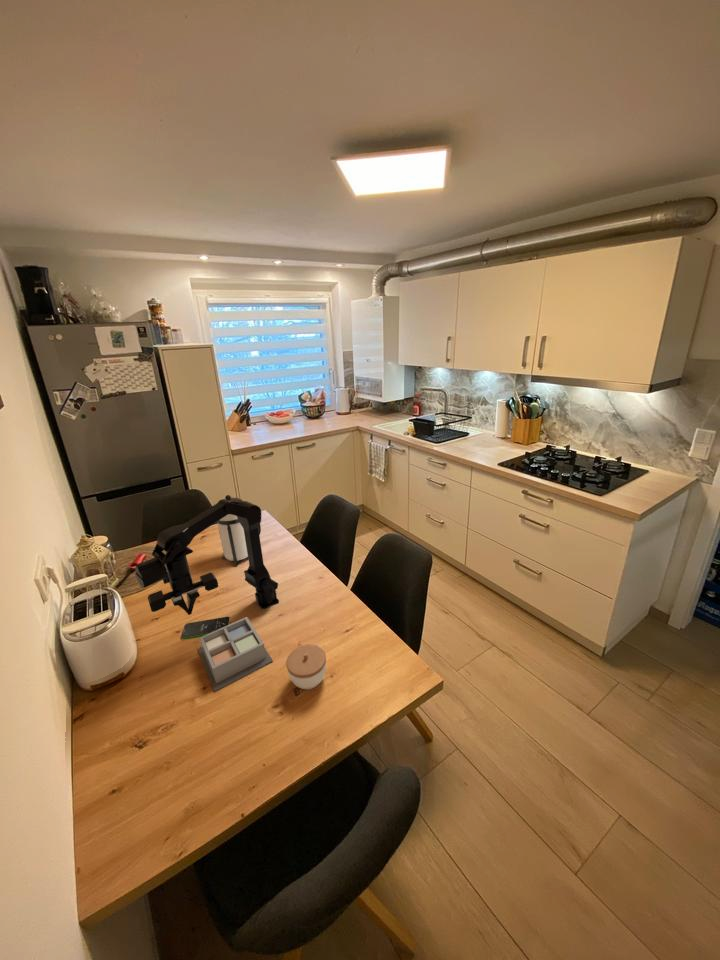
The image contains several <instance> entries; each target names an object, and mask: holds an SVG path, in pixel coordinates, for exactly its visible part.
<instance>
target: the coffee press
mask: <svg viewBox="0 0 720 960" xmlns="http://www.w3.org/2000/svg"><path fill="white" fill-rule="evenodd" d="M224 497H225V498H224V499H226V500H228V501H235V502H239V503H240V502H242V501H244V500H243V499H241V498H238V497H232V496H231V495H230V494H227V495H225V496H224ZM216 523H217V527H218V532H219V536H220V541H221V547H222V551H223V555H222V557H221V559H222V560H228V561H231V562H233V567H238V565H239V561H241V560H244V559H246V558H248V554H247V547H246V541H245V535H244V529H243V527H242V526H241V524H240V522H239V521H238V518H237V516H235V515H231V514H228V515H227V516H225V517H223V518H222V519H220V520H219V521H217V522H216ZM258 529H259V536H260V535H261V533H262V532H261V531H262V529H261V524H260V525H259V528H258Z"/></svg>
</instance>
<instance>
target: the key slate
mask: <svg viewBox="0 0 720 960" xmlns="http://www.w3.org/2000/svg"><path fill="white" fill-rule="evenodd" d="M247 632H249V630H248V628H247V626H246V625H244V626H242V627H239V628H237V629H235V630H233V631H230V632H229V634H230V636H231V638H232V639H234V638H236V637H238V636H240V635H242V634H245V633H247Z"/></svg>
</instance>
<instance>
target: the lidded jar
mask: <svg viewBox="0 0 720 960" xmlns="http://www.w3.org/2000/svg"><path fill="white" fill-rule="evenodd" d="M285 663H286V669H287V673H288V676H289V679H290V680H291V683H293V685H295V686H296V687H297V688H299V689H302V690H307V691H308V690H312V689H315V688H316V687H317V686H318V685H319V684H320V683H321V682H322V681H323V679H324V677H325V676H326V675H325V674H326V669H327V655H326V652H325V651H324V649H323V648H322V647H320V646H318V645H316V644H312V643H311V644H310V643H309V644H304V645H303V644H302V645H300V646H298V647H295V648H294V649H293V650H292V651H291V652H289V654H288V656H287V658H286V661H285Z"/></svg>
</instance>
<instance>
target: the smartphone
mask: <svg viewBox="0 0 720 960" xmlns="http://www.w3.org/2000/svg"><path fill="white" fill-rule="evenodd" d="M230 621H231V616H223V617H216V618H211V619H204V620H199V621H193V622H187V623H186V624H184V627H183V629H182V633H181V635H180V639H185V640H190V639H196V638H200V637H202V636H204V635H207V634H209V633H211V632H213V631H216V630H218V629H220V628H222V627H225V626H227V625H229V624H231V623H230Z"/></svg>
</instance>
